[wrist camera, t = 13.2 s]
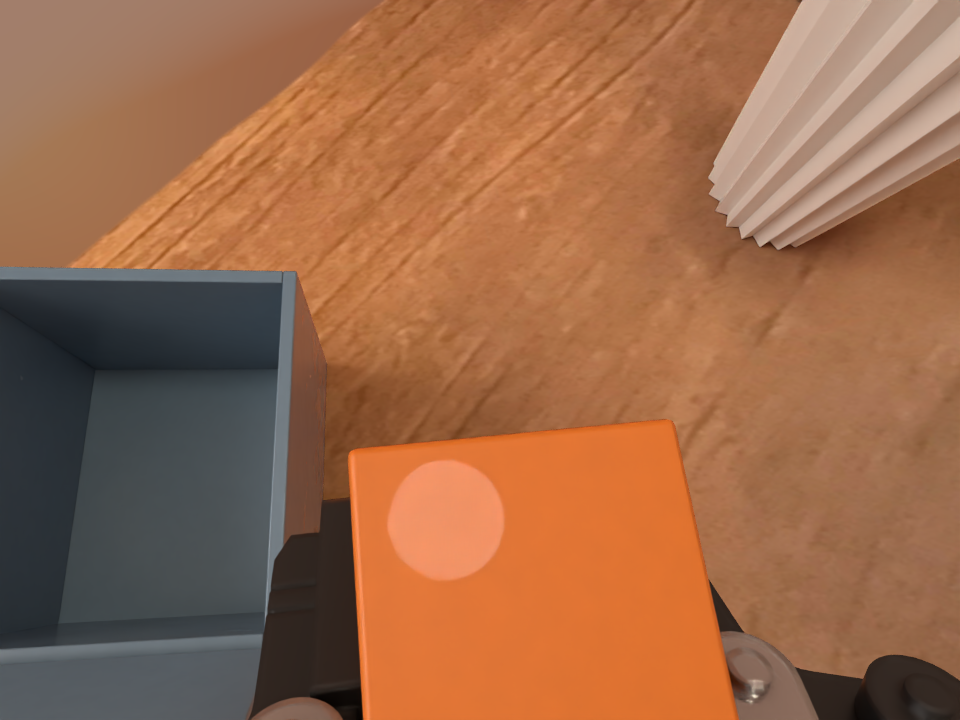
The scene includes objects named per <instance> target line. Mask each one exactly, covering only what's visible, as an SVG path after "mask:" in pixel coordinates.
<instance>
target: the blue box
mask: <svg viewBox="0 0 960 720" xmlns="http://www.w3.org/2000/svg"><path fill="white" fill-rule="evenodd" d="M326 378H327V362H326V359H325V356H324V353H323V350H322V347H321V344H320V341H319V338H318V335H317V332H316V329H315V326H314V323H313V320H312V317H311V314H310V311H309V308H308V305H307V302H306V299H305V296H304V293H303V290H302V287H301V284H300V281H299V278H298V275H297V272H295V271H284V272H282V271H236V270H172V269H108V268H43V267H41V268H40V267H38V268H37V267H0V665H9V664H25V663H41V662H56V661H72V660H88V659H104V658H120V657H136V656H151V655H167V654H183V653H199V652H215V651H231V650H247V649H261V648H262V641H263V635H264V628H265V621H266V615H267V607H268V600H269V593H270V592H271V580H272V573H273V566H274V560H275V558H276V557H277V555H278V554H279V552H280V551H281V549H282V548H283V546H284V545H285V543H286V542H287V540H288V539H289V537H290V536H291V535H297V534H306V533H314V532H320V516H321V503H322V500H323V479H324V446H325V412H326Z"/></svg>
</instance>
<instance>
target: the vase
mask: <svg viewBox="0 0 960 720" xmlns="http://www.w3.org/2000/svg"><path fill="white" fill-rule="evenodd" d="M959 158H960V0H802V2H801V4H800V5H799V7H798V9H797V11H796V13H795V15H794V16H793V18H792V20H791V22H790V24H789V25H788V27H787V29H786V31H785V33H784V35H783V36H782V38H781V40H780V42H779V44H778V46H777V47H776V49H775V51H774V53H773V55H772V57H771V58H770V60H769V62H768V64H767V66H766V67H765V69H764V71H763V73H762V75H761V77H760V78H759V80H758V82H757V84H756V86H755V88H754V89H753V91H752V93H751V95H750V97H749V99H748V100H747V102H746V104H745V106H744V108H743V109H742V111H741V113H740V115H739V117H738V119H737V120H736V122H735V124H734V126H733V128H732V130H731V131H730V133H729V135H728V137H727V139H726V141H725V142H724V144H723V146H722V148H721V150H720V152H719V154H718V156H717V157H716V159H715V161H714V165H715V166H714V168H713V170H712V172H711V173H710V175H709V177H708V178H709V179H710V180H711V181H712V182H713V183H714V184H715V185H714V186H713V188H712V189H711V191H710V193H709V195H711V196H712V197H714V198H715V199H717V200H719V201H720V202H719V204H718V206H717V208H716V209H715V211H716V212H719V213H722V214H726V215H727V223H726V227H739V230H740V234H741V239H744V238H747V237H750V236H754V238H755V240H756V242H757V244H758V245H759V247H761V246H762V245H764V244H765V243H767V242H768V241H770V242H771V243H772V244H773V245H774V246H775V247H776V248H777V249H778V250H779V249H781V248H783V247H785V246H786V245H788V244H790V245H792V246H794V247H797V246H799V245H801V244H803V243H805V242H807V241H809V240H810V239H812V238H814V237H816V236H818V235H820V234H822V233H824V232H825V231H827V230H829V229H831V228H833V227H835V226H836V225H838V224H840V223H842V222H844V221H846V220H847V219H849V218H851V217H853V216H855V215H856V214H858V213H860V212H862V211H864V210H866V209H867V208H869V207H871V206H873V205H875V204H877V203H878V202H880V201H882V200H884V199H886V198H888V197H889V196H891V195H893V194H895V193H897V192H899V191H900V190H902V189H904V188H906V187H908V186H910V185H911V184H913V183H915V182H917V181H919V180H921V179H922V178H924V177H926V176H928V175H930V174H932V173H933V172H935V171H937V170H939V169H941V168H943V167H944V166H946V165H948V164H950V163H952V162H953V161H955V160H957V159H959Z"/></svg>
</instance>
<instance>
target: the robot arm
mask: <svg viewBox="0 0 960 720" xmlns="http://www.w3.org/2000/svg"><path fill="white" fill-rule="evenodd" d="M708 580H709V579H708ZM709 584H710V589H711V593H712V598H713V603H714V607H715V612H716V616H717V621H718V626H719V630H720V635H721V639H722V644H723V649H724V653H725V658H726V662H727V667H728V671H729V676H730V681H731V685H732V690H733V694H734V699H735V704H736V708H737V713H738V717H739V720H960V681H959V680H958V679H956V678H955V677H954V676H952V675H950V674H949V673H947V672H946V671H944V670H942V669H941V668H939V667H937V666H935V665H933V664H930V663H928V662H926V661H923V660H920V659H917V658H914V657H909V656H904V655H888V656H883V657H880V658H878V659H876V660H874V661H873V662H872V663H871V664H870V665H869V667H868V669H867V671H866V674H865V676H864V678H863V679H860V678H853V677H846V676H839V675H833V674H826V673H819V672H813V671H808V670H803V669H799V668H796V667H794V666H793V665H792V663H791V662H790V661H789V660H788V659H787V658H786V657H785V656H784V655H783V654H782V653H781V652H780V651H779V650H777V649H776V648H775V647H773V646H772V645H770V644H769V643H767V642H765V641H763V640H761V639H759V638H757V637H754V636H752V635H749V634H745V633H744V632H743V630H742V629H741V628H740V626H739V625H738V623H737V622H736V620H735V619H734V617H733V615H732V614H731V612H730V611H729V609H728V608H727V606H726V605H725V603H724V602H723V600H722V599H721V597H720V596H719V594H718V593H717V591H716V590H715V588H714V587H713V585H712V584H711V582H710V580H709ZM248 720H363V708H362V691H361V674H360V657H359V640H358V623H357V606H356V589H355V572H354V555H353V538H352V521H351V504H350V497H349V498H340V499H331V500H322V503H321V516H320V532H314V533H306V534H297V535H291V536H290V537H289V539H288V540H287V542H286V543H285V545H284V546H283V548H282V549H281V551H280V552H279V554H278V555H277V557H276V558H275V560H274V566H273V573H272V580H271V592H270V593H269V600H268V607H267V615H266V621H265V628H264V635H263V641H262V648H261V655H260V662H259V669H258V676H257V682H256V689H255V696H254V703H253V707H252V711H251V714H250V717H249V719H248Z"/></svg>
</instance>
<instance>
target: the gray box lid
mask: <svg viewBox="0 0 960 720" xmlns="http://www.w3.org/2000/svg"><path fill="white" fill-rule="evenodd" d="M260 655H261V649H247V650H231V651H215V652H199V653H183V654H167V655H151V656H136V657H120V658H104V659H88V660H72V661H56V662H41V663H25V664H9V665H0V720H248V719H249V717H250V714H251V711H252V707H253V703H254V696H255V689H256V682H257V676H258V669H259V662H260Z"/></svg>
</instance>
